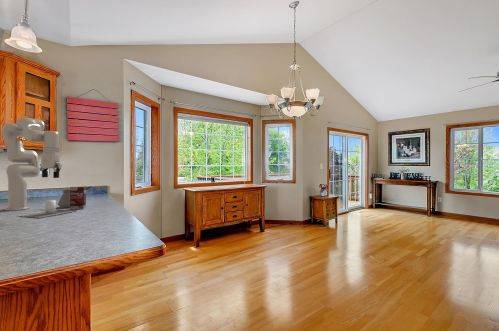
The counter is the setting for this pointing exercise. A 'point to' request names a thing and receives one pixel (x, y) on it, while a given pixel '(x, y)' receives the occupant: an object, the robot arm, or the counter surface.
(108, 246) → the counter surface
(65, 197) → the coffee pot
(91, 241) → the counter surface
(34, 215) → the throwing mat
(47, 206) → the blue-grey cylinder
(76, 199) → the supplement box
